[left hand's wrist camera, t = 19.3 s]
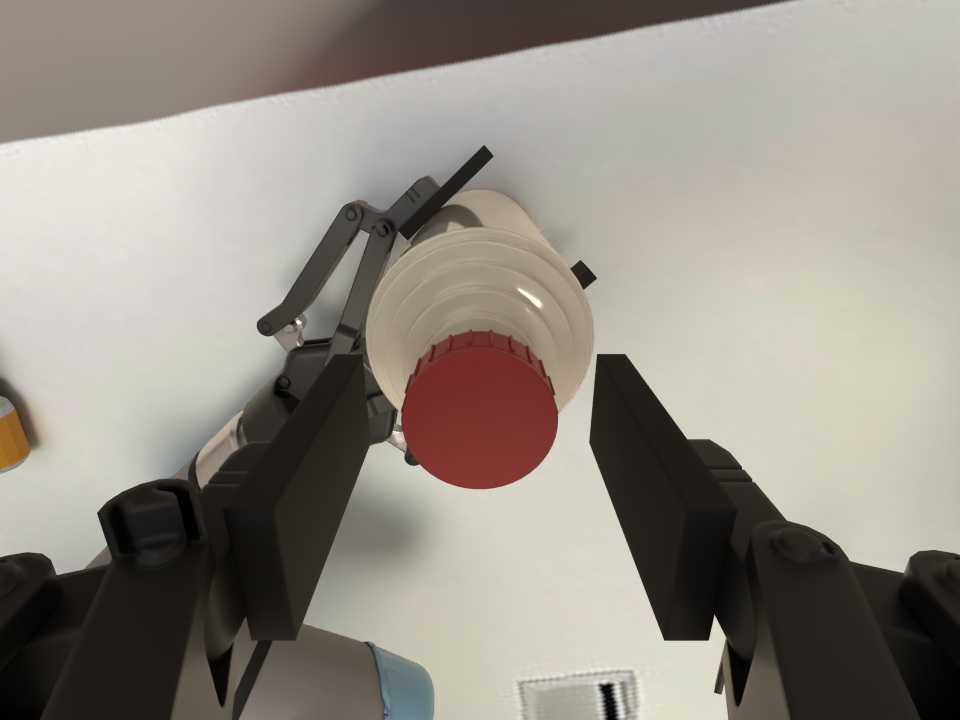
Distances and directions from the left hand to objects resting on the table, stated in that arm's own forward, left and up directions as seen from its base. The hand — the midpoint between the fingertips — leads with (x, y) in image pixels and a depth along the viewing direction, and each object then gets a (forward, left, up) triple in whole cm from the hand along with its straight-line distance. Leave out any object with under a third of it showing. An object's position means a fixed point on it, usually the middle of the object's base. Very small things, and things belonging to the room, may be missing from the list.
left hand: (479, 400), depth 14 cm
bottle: (0, 0, -25) cm, 25 cm away
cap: (0, 0, +1) cm, 1 cm away
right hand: (-4, -2, -18) cm, 19 cm away
